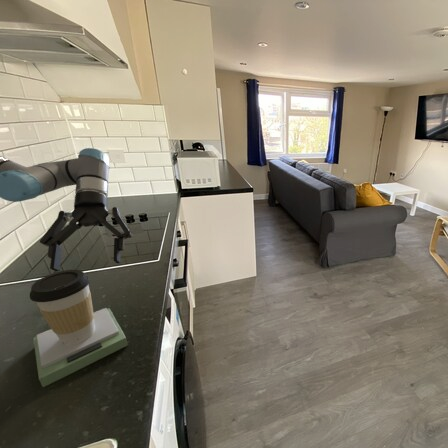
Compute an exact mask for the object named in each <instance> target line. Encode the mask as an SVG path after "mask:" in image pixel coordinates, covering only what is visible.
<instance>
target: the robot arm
mask: <svg viewBox="0 0 448 448" xmlns="http://www.w3.org/2000/svg"><path fill="white" fill-rule="evenodd" d="M109 173H110V158H109V156H108V155H107V153H105V152H104V151H103V150H101V149H98V148H93V147H86V148H83V149H82V150H80V151H79V153H78V156H77V157H76V158H71V159H65V160H57V161H50V162H41V163H38V164H37V163H36V164H33V165H31V166H30V165H29V166H25V165H23V164H20V163H18V162H15V161H13V160H10V159H9V158H6V157H4V156H1V155H0V199H2V200H5V201H7V202H12V203H21V202H24V201H28V200H33V199H36V198H37V197H39V196H42V195H45V194H48V193H50V192H54V191H56V190H60V189H62V188H65V187H70V186H75V189H74V201H73V210H72V212H68V211H67V212H66V211H64V210H60V211H59V212H58V213H57V214H58V215H57V218H56V219H55V220H54V222H53V223H52V224H51V226H50V227H49V228H48V229H47V231H46V232H45V233H44V235H43V236H42V237H41V238H40V239H39V243H40V244H42V245H43V246H45V247H48V250H47V257H48V258H49V259H50V264H49V265H50V267H49V270H52V271H54V272H60V271H61V260H62V253H63V247H62V246H61V245H62V244H63V243H64V242H65V241H66V240H67V239H69V238H70V237H71V236H72V235H73V234H74V233H75V232H76V231H78V230H80V229H81V228H82V227H84V228H86V227H98V226H100V225H103V227H105V228H106V229H107V230H108V231H109V232H111V233H112V234H113V235H114V236H115V237H113V261H114V262H115V263H116V264H121V252H122V251H125V248H126V246H125V245H126V244H125V243H126V242H125V241H126V240H127V239H128V238H129V239H131V238H132V237H133V234H132V232H131V231H130V229H129V228H128V226H127V225H126V223H125V222H124V220H123V219H122V217H121V212H120V210H119V209H118V207H116V206H113V207H112V208H111V209H108V197H109V196H108V195H109ZM109 216H111V217H112V218H114V219H115V220H116V223H117V224H118V225H119V227H120V228H121V230H122V232H123V233H122V232H120V231H119V230H118V229H117V228H116V227H115V226H113V225H112V224H111V223H110V222H108V221H107V219H106V218H108V217H109ZM71 218H72V219H71ZM68 221H69V222H68Z"/></svg>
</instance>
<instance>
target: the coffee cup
mask: <svg viewBox="0 0 448 448" xmlns="http://www.w3.org/2000/svg"><path fill="white" fill-rule="evenodd" d="M90 282H91V279H90V277H89V276H88V274H86V273H84V271H83V270H80V269H66V270H60V271H55V272H53V273H50V274H48V275H45V276H43V277H41V278H40V279H38V280H36V281H35V282H34V283H33V284H32V285H31V287H30V291H29V299H30V300H31V302H35V304H36V305H37V306H38V307H37V308H38V310H39V312H40V314H41V315H42V317H43V318H44V319H45V321H46V323H47V324H48V326H49V327H50V329H52V330H53V332H54V333H55V334H56V335H57V336H58V338H59V339H60V341H61V342H62V344H63V345H75V344H78V343H81V342H83V341H85V340H87V339H88V338H89V337H91V336H92V335H93V334H94V332H95V324H94V306H93V301H92V300H93V299H92V293H91V290H90V286H89V284H90Z"/></svg>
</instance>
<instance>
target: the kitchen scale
mask: <svg viewBox="0 0 448 448" xmlns="http://www.w3.org/2000/svg"><path fill="white" fill-rule="evenodd" d="M93 313H94V324H95V332H94V334H93V335H92V336H91V337H89V338H88V339H87V340H85V341H83V342H81V343H78V344H75V345H63V344H62V342H61V341H60V339H59V338H58V336H57V335H56V334H55V333H54V332H53V330H52V329H51V328H50V329H48V330H46V331H43V332H40V333H38V334H36V336H35V337H33V339H32V340H33V346H34V354H35V360H36V361H35V362H36V369H37V376H38V380H39V383H40V385H41V386H42V388H45V387H47V386H49V385H51V384H53V383H56V382H57V381H59V380H61V379H64V378H65V377H67V376H70V375H71V374H73V373H75V372H77V371H79V370H81V369H83V368H85V367H87V366H89V365H91V364H93V363H95V362H97V361H99V360H101V359H103V358H105V357H107V356H110V355H111V354H113V353H115V352H117V351H121V350H122V349H123V348H125V347H127V346H129V344H128V341H127V338H126V335H125V333H124V331H123V330H122V328H121V326H120V324H119V323H118V321H117V319H116V318H115V316H114V314H113V312H112V310H111V308H109V307H108V308H107V307H104V308H102V309H99V310H96V311H93Z"/></svg>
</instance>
